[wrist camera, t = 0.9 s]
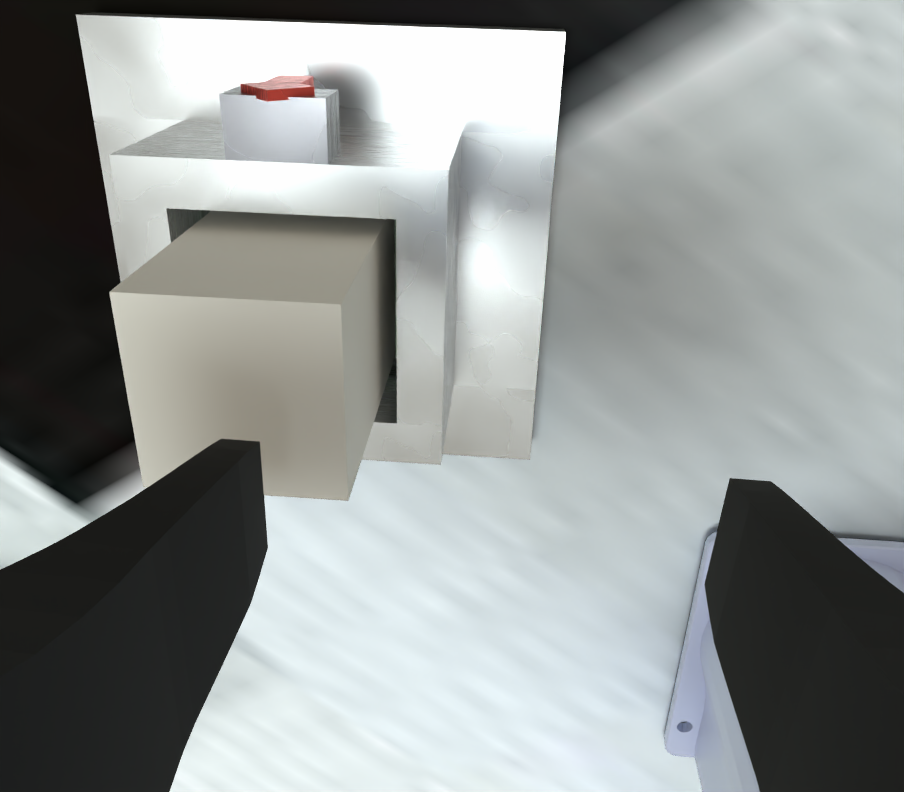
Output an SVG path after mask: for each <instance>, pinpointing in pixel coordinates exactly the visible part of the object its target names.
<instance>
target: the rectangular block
mask: <svg viewBox="0 0 904 792" xmlns="http://www.w3.org/2000/svg"><path fill="white" fill-rule="evenodd" d="M109 293H110V299H111V304H112V310H113V316H114V322H115V327H116V333H117V339H118V344H119V350H120V356H121V361H122V367H123V373H124V379H125V384H126V390H127V396H128V401H129V407H130V413H131V419H132V424H133V430H134V436H135V441H136V447H137V453H138V458H139V464H140V470H141V476H142V481H143V487H149V486H151V485H152V484H154V483H155V482H157V481H158V480H160V479H161V478H163V477H164V476H166V475H167V474H169V473H170V472H171V471H173V470H174V469H176V468H177V467H179V466H180V465H182V464H183V463H185V462H186V461H187V460H189V459H190V458H192V457H193V456H195V455H196V454H198V453H199V452H201V451H202V450H204V449H205V448H207V447H208V446H210V445H211V444H213V443H215V442H216V441H218V440H220V439H234V440H246V441H259V442H260V450H261V464H262V477H263V491H264V495H269V496H284V497H299V498H314V499H329V500H344V501H348V500H349V497H350V494H351V491H352V488H353V485H354V482H355V479H356V475H357V472H358V469H359V466H360V463H361V460H362V457H363V454H364V451H365V448H366V445H367V441H368V438H369V435H370V432H371V429H372V426H373V423H374V420H375V417H376V414H377V411H378V408H379V404H380V401H381V398H382V395H383V392H384V389H385V386H386V383H387V380H388V377H389V374H390V371H391V367H392V364H393V361H394V358H395V357H397V317H396V219H377V218H356V217H336V216H315V215H294V214H273V213H252V212H232V211H210V212H209V213H208V214H207V215H205V216H204V217H203V218H202V219H200V220H199V221H198V222H197V223H195V224H194V225H193V226H192V227H190V228H189V229H188V230H187V231H185V232H184V233H183V234H182V235H180V236H179V237H178V238H177V239H175V240H174V241H173V242H172V243H170V244H169V245H168V246H166V247H165V248H164V249H163V250H161V251H160V252H159V253H158V254H156V255H155V256H154V257H153V258H151V259H150V260H149V261H148V262H146V263H145V264H144V265H143V266H141V267H140V268H139V269H138V270H136V271H135V272H134V273H133V274H131V275H130V276H129V277H128V278H126V279H125V280H124V281H122V282H121V283H120V284H119V285H117V286H116V287H115V288H114V289H112V290H111V291H110V292H109Z"/></svg>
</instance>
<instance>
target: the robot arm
mask: <svg viewBox="0 0 904 792" xmlns="http://www.w3.org/2000/svg"><path fill="white" fill-rule="evenodd" d="M267 548H268V545H267V531H266V518H265V504H264V491H263V477H262V464H261V450H260V442H259V441H246V440H234V439H220V440H218V441H216V442H215V443H213V444H211V445H210V446H208V447H207V448H205V449H204V450H202V451H201V452H199V453H198V454H196V455H195V456H193V457H192V458H190V459H189V460H187V461H186V462H185V463H183V464H182V465H180V466H179V467H177V468H176V469H174V470H173V471H171V472H170V473H169V474H167V475H166V476H164V477H163V478H161V479H160V480H158V481H157V482H155V483H154V484H152V485H151V486H149V487H148V488H146V489H145V490H143V491H142V492H140V493H139V494H137V495H136V496H134V497H132V498H131V499H129V500H128V501H126V502H124V503H123V504H121V505H120V506H118V507H116V508H115V509H113V510H111V511H110V512H108V513H106V514H105V515H103V516H101V517H100V518H98V519H96V520H95V521H93V522H91V523H90V524H88V525H86V526H85V527H83V528H81V529H80V530H78V531H76V532H75V533H73V534H71V535H69V536H67V537H65V538H64V539H62V540H60V541H58V542H56V543H54V544H52V545H50V546H48V547H47V548H45V549H43V550H41V551H38V552H36V553H34V554H32V555H30V556H28V557H26V558H24V559H22V560H20V561H18V562H16V563H14V564H12V565H10V566H7V567H5V568H3V569H1V570H0V792H169V791H170V788H171V785H172V782H173V780H174V777H175V774H176V771H177V768H178V765H179V762H180V759H181V756H182V754H183V751H184V748H185V746H186V744H187V741H188V739H189V736H190V734H191V732H192V729H193V727H194V724H195V722H196V720H197V718H198V716H199V714H200V711H201V709H202V707H203V705H204V703H205V701H206V699H207V697H208V694H209V692H210V690H211V688H212V686H213V684H214V682H215V679H216V677H217V675H218V673H219V671H220V669H221V667H222V665H223V662H224V660H225V658H226V656H227V654H228V652H229V650H230V647H231V645H232V643H233V641H234V639H235V637H236V634H237V632H238V630H239V628H240V626H241V624H242V621H243V619H244V617H245V615H246V613H247V610H248V608H249V606H250V604H251V601H252V598H253V595H254V591H255V588H256V585H257V582H258V579H259V576H260V572H261V569H262V565H263V562H264V559H265V555H266V552H267ZM685 721H686V723H680V722H685ZM664 743H665V749H666V750H667V751H668V752H669V753H670V754H672V755H675V756H683V757H695V760H696V765H697V769H698V774H699V778H700V783H701V788H702V792H904V542H894V541H879V540H864V539H849V538H836V537H835V536H834V535H833V534H832V533H830V532H829V531H828V530H827V529H826V528H825V527H824V526H823V525H821V524H820V523H819V522H818V521H817V520H816V519H815V518H813V517H812V516H811V515H810V514H809V513H808V512H807V511H806V510H804V509H803V508H802V507H801V506H800V505H799V504H798V503H796V502H795V501H794V500H793V499H792V498H791V497H790V496H788V495H787V494H786V493H785V492H784V491H782V490H781V489H780V488H779V487H777V486H776V485H775V484H774V483H772V482H771V481H758V480H745V479H732V478H730V480H729V484H728V488H727V492H726V496H725V500H724V505H723V509H722V513H721V517H720V521H719V526H718V530H717V532H714V533H712V534H711V535H710V536H709V537H708V538H707V540H706V542H705V546H704V551H703V555H702V560H701V565H700V570H699V574H698V579H697V584H696V589H695V593H694V598H693V603H692V607H691V612H690V617H689V622H688V626H687V631H686V636H685V640H684V645H683V650H682V655H681V659H680V664H679V669H678V674H677V678H676V683H675V688H674V692H673V697H672V702H671V707H670V711H669V716H668V721H667V725H666V730H665V735H664Z"/></svg>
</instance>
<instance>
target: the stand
mask: <svg viewBox="0 0 904 792" xmlns="http://www.w3.org/2000/svg"><path fill="white" fill-rule="evenodd" d="M76 17H77V23H78V29H79V35H80V41H81V47H82V53H83V59H84V65H85V71H86V77H87V83H88V89H89V95H90V101H91V107H92V113H93V119H94V125H95V131H96V137H97V143H98V148H99V154H100V160H101V166H102V172H103V178H104V184H105V190H106V196H107V202H108V208H109V214H110V220H111V226H112V232H113V238H114V244H115V250H116V256H117V262H118V268H119V274H120V280H121V282H122V281H124V280H125V279H126V278H128V277H129V276H130V275H131V274H133V273H134V272H135V271H136V270H138V269H139V268H140V267H141V266H143V265H144V264H145V263H146V262H148V261H149V260H150V259H151V258H153V257H154V256H155V255H156V254H158V253H159V252H160V251H161V250H163V249H164V248H165V247H166V246H168V245H169V244H170V243H172V242H173V241H174V240H175V239H177V238H178V237H179V236H180V235H182V234H183V233H184V232H185V231H187V230H188V229H189V228H190V227H192V226H193V225H194V224H195V223H197V222H198V221H199V220H200V219H202V218H203V217H204V216H205V215H207V214H208V213H209V212H210V211H232V212H252V213H273V214H294V215H315V216H336V217H356V218H377V219H396V317H397V357H395V358H394V361H393V364H392V367H391V371H390V374H389V377H388V380H387V383H386V386H385V389H384V392H383V395H382V398H381V401H380V404H379V408H378V411H377V414H376V417H375V420H374V423H373V426H372V429H371V432H370V435H369V438H368V441H367V445H366V448H365V451H364V454H363V457H362V460H376V461H392V462H407V463H423V464H438V465H441V461H442V455H443V454H449V455H464V456H480V457H496V458H512V459H528V460H530V452H531V440H532V428H533V416H534V404H535V392H536V380H537V368H538V357H539V345H540V333H541V321H542V309H543V297H544V285H545V273H546V261H547V249H548V237H549V225H550V214H551V202H552V190H553V178H554V166H555V154H556V142H557V130H558V118H559V106H560V94H561V82H562V71H563V59H564V47H565V35H566V32H565V30H564V29H551V28H523V27H495V26H466V25H438V24H409V23H381V22H353V21H324V20H296V19H267V18H239V17H211V16H182V15H154V14H125V13H97V12H96V13H87V14H79V15H76Z"/></svg>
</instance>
